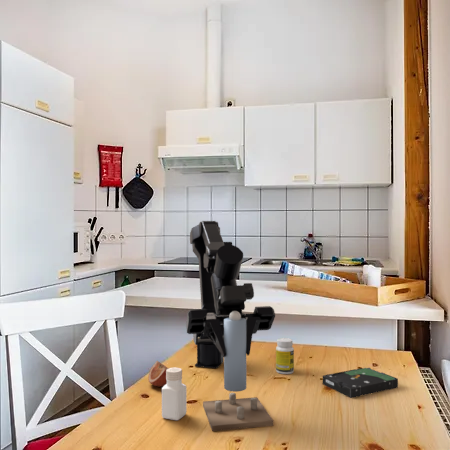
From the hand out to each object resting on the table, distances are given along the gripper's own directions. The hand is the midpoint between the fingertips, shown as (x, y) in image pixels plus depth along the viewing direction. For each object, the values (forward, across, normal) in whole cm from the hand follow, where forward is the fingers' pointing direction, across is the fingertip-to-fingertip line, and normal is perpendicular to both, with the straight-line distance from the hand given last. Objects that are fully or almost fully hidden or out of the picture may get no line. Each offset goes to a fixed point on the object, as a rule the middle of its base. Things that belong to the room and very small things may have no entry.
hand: (236, 355), depth 93 cm
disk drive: (+2, +33, +17) cm, 37 cm away
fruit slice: (-6, -14, +24) cm, 28 cm away
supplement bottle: (-8, +18, +26) cm, 33 cm away
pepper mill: (+4, 0, +6) cm, 7 cm away
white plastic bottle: (+7, -12, +11) cm, 18 cm away
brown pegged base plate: (+8, 0, +9) cm, 12 cm away
